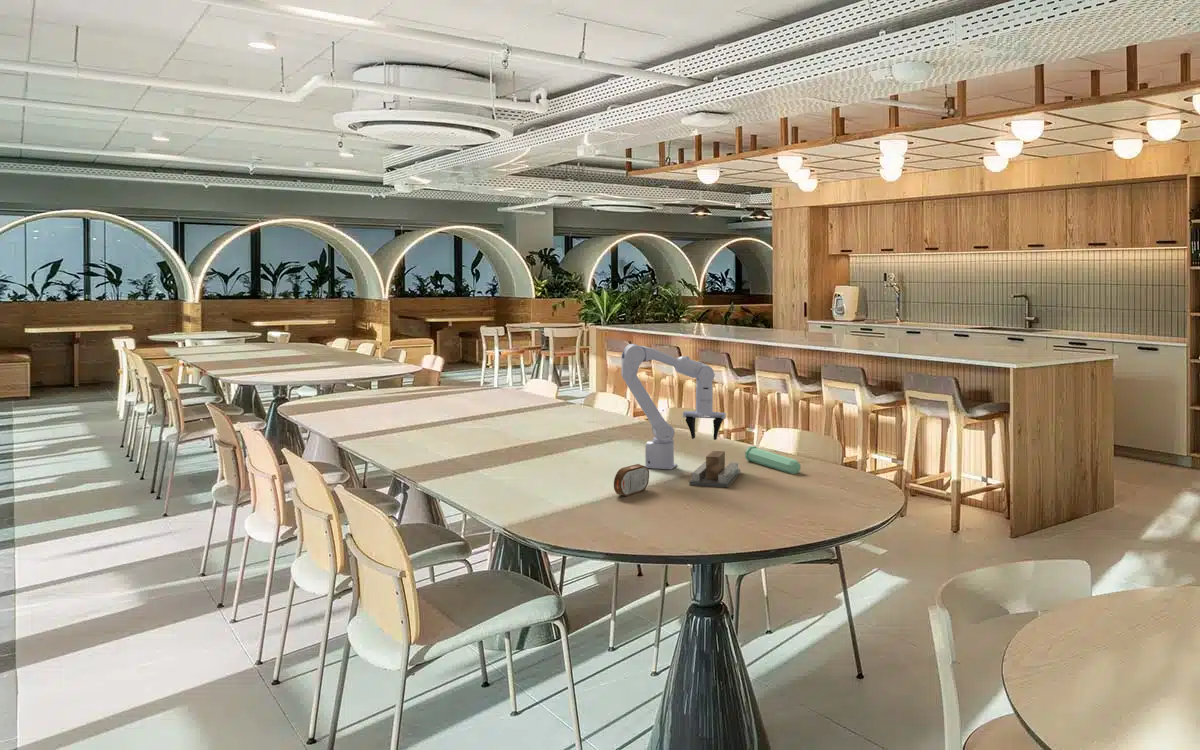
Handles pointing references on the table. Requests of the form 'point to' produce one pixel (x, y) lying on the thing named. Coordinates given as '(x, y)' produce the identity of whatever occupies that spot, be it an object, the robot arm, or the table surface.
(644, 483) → the tin
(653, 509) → the table surface
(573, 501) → the table surface
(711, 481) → the slot base
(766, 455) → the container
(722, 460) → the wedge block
